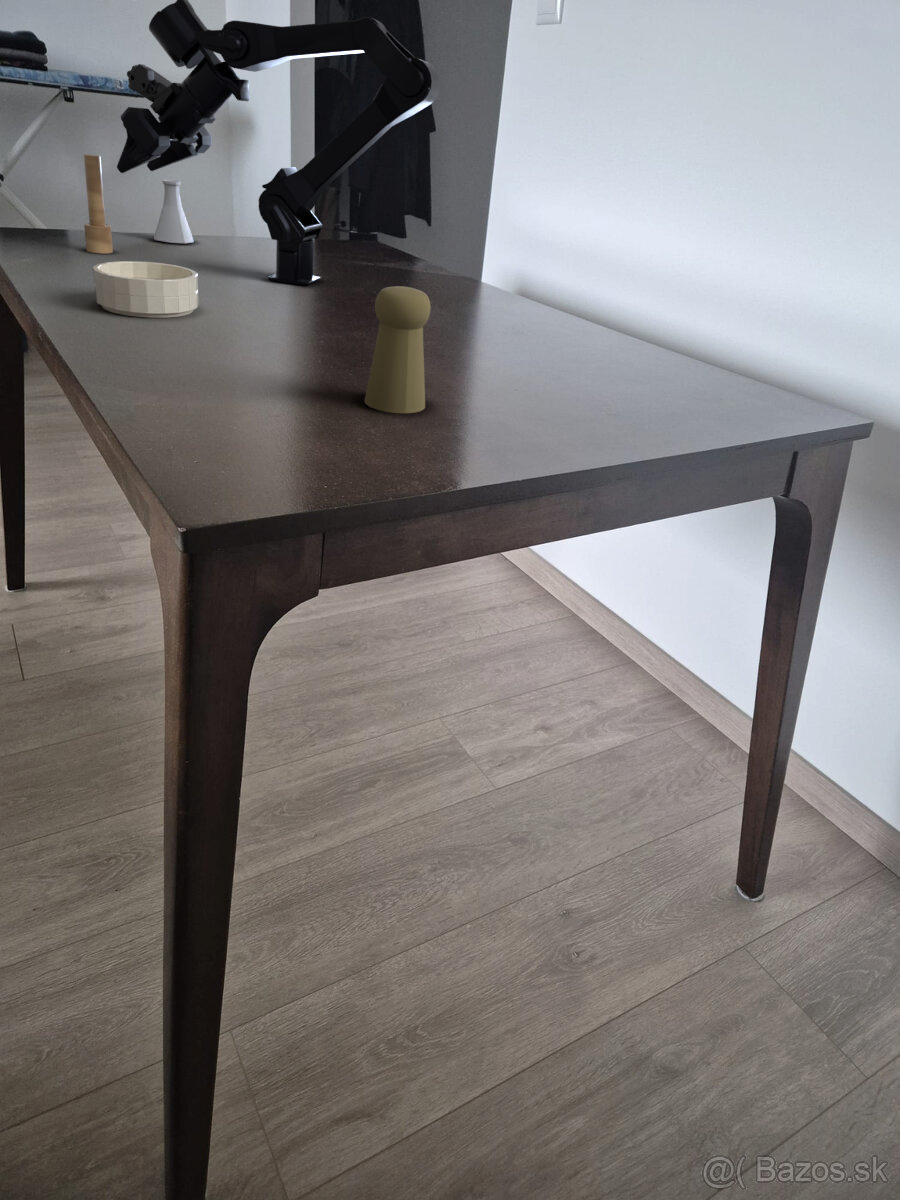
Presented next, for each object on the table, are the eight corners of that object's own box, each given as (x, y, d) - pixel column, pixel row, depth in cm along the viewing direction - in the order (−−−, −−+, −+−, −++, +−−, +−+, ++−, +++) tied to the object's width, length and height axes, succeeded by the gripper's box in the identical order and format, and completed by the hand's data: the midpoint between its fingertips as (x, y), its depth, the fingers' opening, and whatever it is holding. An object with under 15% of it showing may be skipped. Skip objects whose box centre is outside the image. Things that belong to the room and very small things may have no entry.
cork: (364, 392, 88) (371, 279, 83) (423, 397, 89) (434, 285, 84) (364, 410, 83) (372, 290, 78) (427, 415, 84) (439, 297, 78)
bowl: (127, 293, 116) (125, 257, 114) (214, 306, 115) (213, 271, 113) (76, 308, 105) (73, 269, 103) (171, 323, 104) (169, 284, 102)
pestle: (94, 248, 143) (87, 153, 136) (117, 251, 142) (110, 156, 135) (81, 251, 139) (72, 153, 132) (104, 254, 139) (97, 156, 132)
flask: (188, 246, 155) (186, 184, 150) (147, 241, 154) (144, 179, 149) (199, 241, 161) (197, 181, 156) (160, 236, 161) (157, 176, 156)
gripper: (190, 51, 133) (128, 123, 140) (129, 39, 117) (61, 121, 123) (239, 116, 136) (176, 184, 143) (186, 113, 120) (117, 190, 126)
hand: (134, 169), depth 134 cm, fingers open, 9 cm apart
